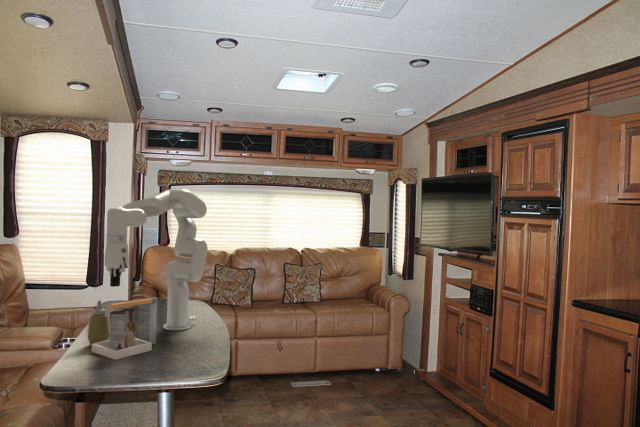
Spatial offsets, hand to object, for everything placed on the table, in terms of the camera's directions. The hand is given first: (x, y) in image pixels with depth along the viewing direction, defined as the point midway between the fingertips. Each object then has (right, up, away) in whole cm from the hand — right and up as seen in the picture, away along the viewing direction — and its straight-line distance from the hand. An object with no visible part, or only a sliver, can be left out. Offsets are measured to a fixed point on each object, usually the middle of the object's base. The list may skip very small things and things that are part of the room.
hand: (115, 286), depth 193 cm
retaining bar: (+7, -8, +2) cm, 11 cm away
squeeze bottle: (-9, -25, +5) cm, 27 cm away
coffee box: (+4, -25, -2) cm, 26 cm away
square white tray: (+6, -25, +1) cm, 26 cm away
